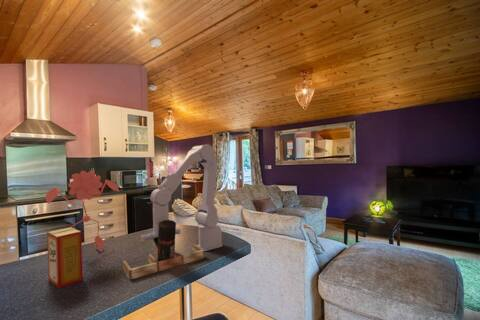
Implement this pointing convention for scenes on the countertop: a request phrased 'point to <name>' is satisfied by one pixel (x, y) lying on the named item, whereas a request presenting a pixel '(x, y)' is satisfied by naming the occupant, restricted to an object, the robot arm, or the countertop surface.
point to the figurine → (84, 194)
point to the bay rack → (164, 263)
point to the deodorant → (166, 240)
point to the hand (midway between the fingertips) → (161, 256)
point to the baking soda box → (64, 256)
